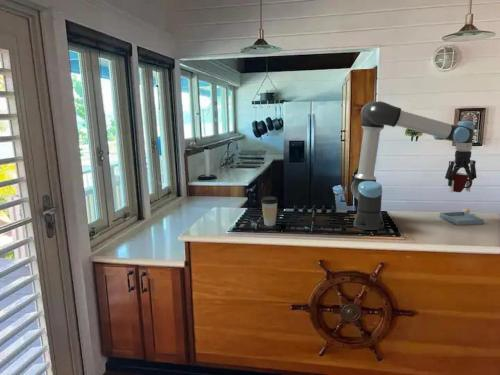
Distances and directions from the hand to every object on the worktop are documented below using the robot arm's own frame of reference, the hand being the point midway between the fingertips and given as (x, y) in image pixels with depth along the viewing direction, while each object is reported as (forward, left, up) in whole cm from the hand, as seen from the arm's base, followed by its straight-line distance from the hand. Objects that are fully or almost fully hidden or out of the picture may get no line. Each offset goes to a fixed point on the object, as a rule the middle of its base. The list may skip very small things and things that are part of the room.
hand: (459, 191), depth 205 cm
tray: (0, -3, -15) cm, 16 cm away
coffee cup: (-104, +7, -16) cm, 105 cm away
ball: (+10, +7, -15) cm, 20 cm away
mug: (0, 0, 0) cm, 0 cm away
